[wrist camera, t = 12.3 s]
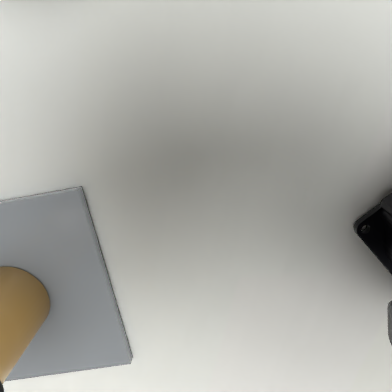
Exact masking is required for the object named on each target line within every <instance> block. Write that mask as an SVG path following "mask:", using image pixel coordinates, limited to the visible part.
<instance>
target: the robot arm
mask: <svg viewBox="0 0 392 392" xmlns="http://www.w3.org/2000/svg"><path fill="white" fill-rule="evenodd" d="M364 225H367V228H366V229H365V230H363V231H361V228H362V227H363V226H364ZM354 230H355V232H356V233H357V234H358V236H359V237H360V238H361V239H362V240H363V241H364V243H365V244H366V245H367V246H368V247H369V249H370V250H371V251H372V252H373V253H374V254H375V256H376V257H377V258H378V259H379V260H380V261H381V263H382V264H383V265H384V266H385V267H386V268H387V270H388V271H389V272H390V273H391V274H392V193H391V194H389V195H388V196H387V197H385V198H384V199H383V200H382V201H381V203H380V204H379V205H378V206H376V207H375V208H373V209H372V210H371V211H369V212H368V213H367V214H365V215H364V216H363V217H361V218H360V219H359V220H357V221H356V223H355V224H354ZM388 335H389V339H390V342H391V345H392V301H391V302H390V303H389V304H388ZM0 392H4V388H3V385H2V383H1V381H0Z"/></svg>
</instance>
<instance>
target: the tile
mask: <svg viewBox="0 0 392 392" xmlns="http://www.w3.org/2000/svg"><path fill="white" fill-rule="evenodd" d="M0 267H14V268H18V269H21V270H24V271H26V272H28V273H29V274H31V275H33V276H34V277H35V278H36V279H38V280H39V281H40V282H41V284H42V285H43V286H44V288H45V289H46V291H47V293H48V296H49V300H50V310H49V314H48V316H47V318H46V319H45V321H44V322H43V324H42V325H41V327H40V328H39V330H38V331H37V333H36V334H35V336H34V337H33V339H32V340H31V342H30V343H29V345H28V346H27V348H26V349H25V351H24V352H23V354H22V355H21V357H20V358H19V360H18V361H17V363H16V364H15V366H14V367H13V369H12V370H11V372H10V373H9V375H8V376H7V378H6V379H5V381H11V380H18V379H25V378H32V377H39V376H46V375H54V374H61V373H68V372H75V371H82V370H89V369H97V368H104V367H111V366H118V365H125V364H131V361H132V354H131V350H130V347H129V344H128V340H127V337H126V334H125V330H124V327H123V324H122V320H121V317H120V314H119V310H118V307H117V303H116V300H115V297H114V293H113V290H112V287H111V283H110V280H109V277H108V273H107V270H106V267H105V263H104V260H103V257H102V253H101V250H100V247H99V243H98V240H97V237H96V233H95V230H94V227H93V223H92V220H91V216H90V213H89V210H88V206H87V203H86V200H85V196H84V193H83V190H82V186H81V187H76V188H70V189H65V190H59V191H54V192H48V193H42V194H37V195H31V196H26V197H20V198H14V199H9V200H3V201H0Z"/></svg>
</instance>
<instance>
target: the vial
mask: <svg viewBox="0 0 392 392" xmlns="http://www.w3.org/2000/svg"><path fill="white" fill-rule="evenodd" d="M49 310H50V300H49V296H48V293H47V291H46V289H45V288H44V286H43V285H42V284H41V282H40V281H39V280H38V279H36V278H35V277H34V276H33V275H31V274H29V273H28V272H26V271H24V270H21V269H18V268H14V267H0V381H1V383H2V384H3V382H4V381H5V379H6V378H7V376H8V375H9V373H10V372H11V370H12V369H13V367H14V366H15V364H16V363H17V361H18V360H19V358H20V357H21V355H22V354H23V352H24V351H25V349H26V348H27V346H28V345H29V343H30V342H31V340H32V339H33V337H34V336H35V334H36V333H37V331H38V330H39V328H40V327H41V325H42V324H43V322H44V321H45V319H46V318H47V316H48V314H49Z"/></svg>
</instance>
